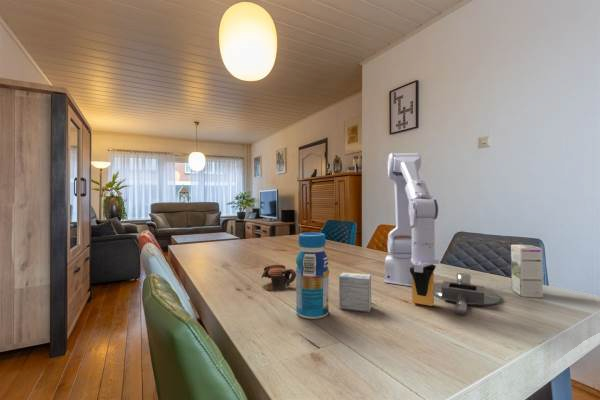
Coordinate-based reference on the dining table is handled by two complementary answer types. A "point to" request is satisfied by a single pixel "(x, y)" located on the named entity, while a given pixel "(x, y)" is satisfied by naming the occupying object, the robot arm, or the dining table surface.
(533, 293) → the syrup box
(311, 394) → the dining table surface
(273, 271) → the pottery mug
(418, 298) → the orange rectangular block
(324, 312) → the beverage bottle
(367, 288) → the medicine box
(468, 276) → the rosette joint
